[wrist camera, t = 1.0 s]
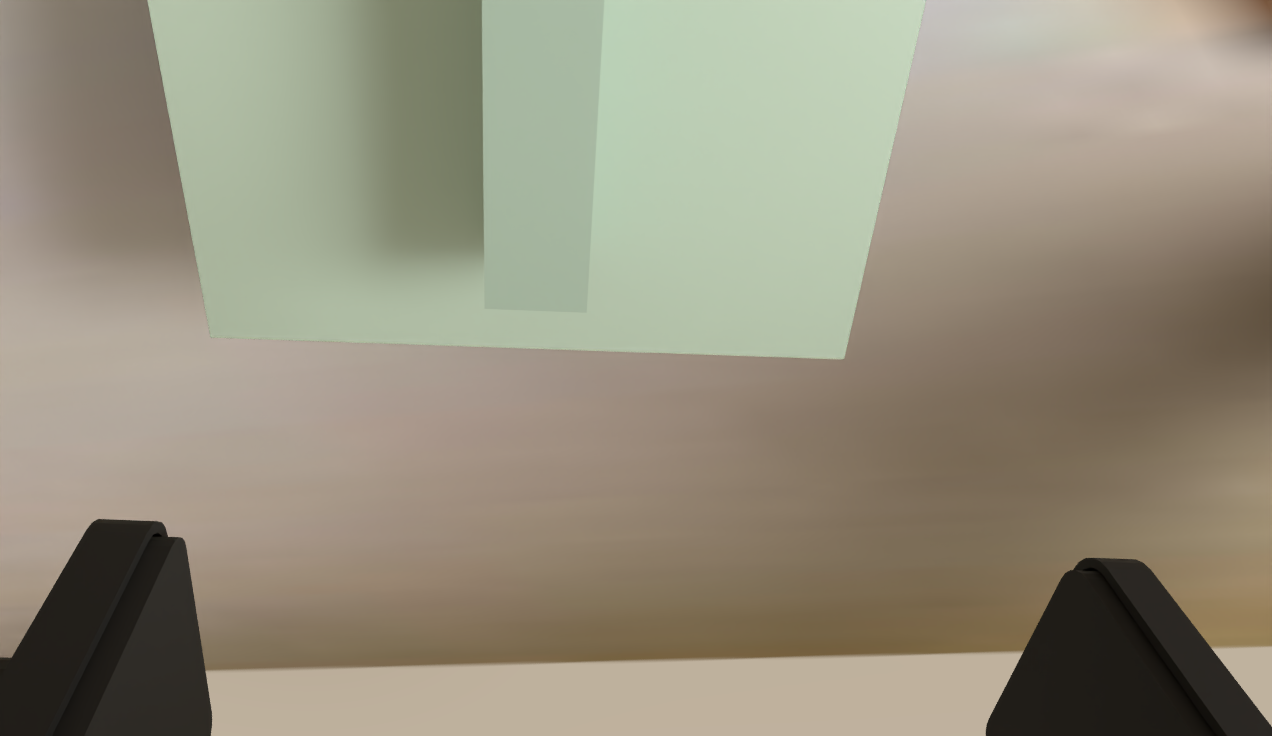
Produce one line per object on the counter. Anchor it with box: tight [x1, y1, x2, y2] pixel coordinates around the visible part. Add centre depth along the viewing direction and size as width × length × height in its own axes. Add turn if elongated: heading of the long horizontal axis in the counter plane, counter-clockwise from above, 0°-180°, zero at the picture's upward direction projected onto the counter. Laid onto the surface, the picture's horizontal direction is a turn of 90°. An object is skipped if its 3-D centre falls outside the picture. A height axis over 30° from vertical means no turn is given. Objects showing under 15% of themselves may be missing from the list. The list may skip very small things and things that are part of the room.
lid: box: [147, 0, 926, 359], centre depth 24 cm, size 19×15×6 cm
